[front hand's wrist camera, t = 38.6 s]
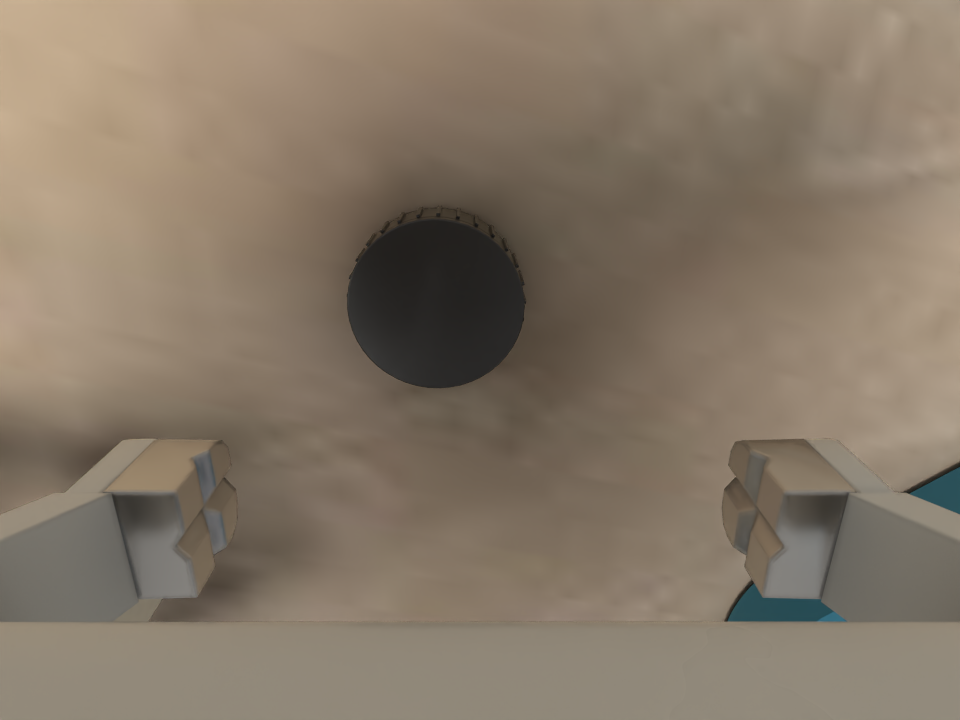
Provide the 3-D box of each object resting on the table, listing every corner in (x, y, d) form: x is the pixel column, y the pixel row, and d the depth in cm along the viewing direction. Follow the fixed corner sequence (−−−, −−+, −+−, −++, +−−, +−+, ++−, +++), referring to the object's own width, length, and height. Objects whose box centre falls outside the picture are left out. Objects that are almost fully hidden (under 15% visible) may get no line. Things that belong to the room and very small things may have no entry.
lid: (451, 168, 19) (449, 175, 17) (554, 302, 21) (563, 322, 19) (320, 275, 21) (306, 293, 19) (428, 395, 22) (424, 421, 20)
